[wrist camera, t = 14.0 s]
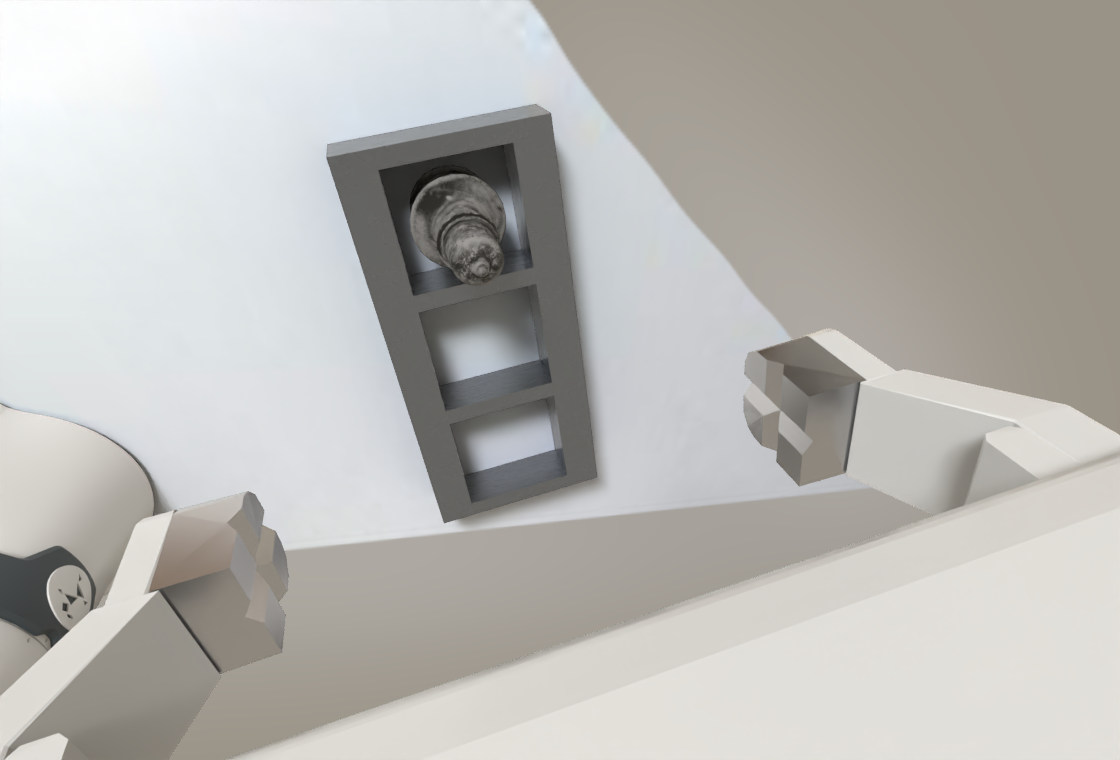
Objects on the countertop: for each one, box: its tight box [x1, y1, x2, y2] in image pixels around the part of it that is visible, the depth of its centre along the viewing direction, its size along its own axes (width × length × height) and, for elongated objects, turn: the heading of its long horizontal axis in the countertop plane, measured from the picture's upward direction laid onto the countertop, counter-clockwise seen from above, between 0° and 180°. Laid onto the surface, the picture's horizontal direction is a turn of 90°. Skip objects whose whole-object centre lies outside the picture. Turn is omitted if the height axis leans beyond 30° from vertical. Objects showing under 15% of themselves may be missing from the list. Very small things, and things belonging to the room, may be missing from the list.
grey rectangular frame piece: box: [326, 104, 597, 523], centre depth 46 cm, size 13×29×4 cm, turn 9°
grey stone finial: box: [410, 166, 506, 286], centre depth 37 cm, size 6×6×12 cm
